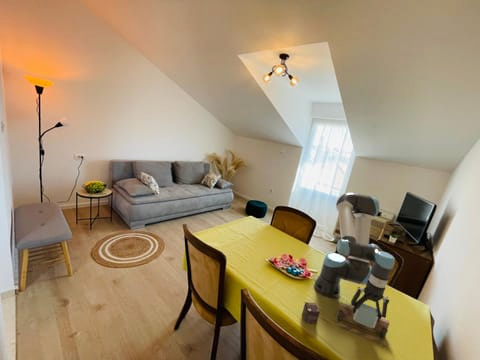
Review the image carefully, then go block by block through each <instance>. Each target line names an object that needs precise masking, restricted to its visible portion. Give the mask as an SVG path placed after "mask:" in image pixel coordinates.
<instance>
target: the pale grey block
mask: <svg viewBox="0 0 480 360" xmlns="http://www.w3.org/2000/svg"><path fill="white" fill-rule="evenodd" d="M358 309H359V310H358V313H357V316H356V319H355V322H357V323H360V324H362V325H365V326H367V327H370V328H372V329H373V326H374V323H375V320H376V318H377V315H378V312H377V308H376V307H374V306H371V305H368V304H366V303H363V304H362V305H360V306H359V307H358Z"/></svg>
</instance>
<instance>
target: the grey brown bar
mask: <svg viewBox="0 0 480 360" xmlns="http://www.w3.org/2000/svg"><path fill="white" fill-rule="evenodd" d="M353 307H354V306H352V305H348V304H346V303H343V302H341V301H340V302H339V305H338V308H337V311H336V315H335V317H336V321H337V322H336V327H340V328H342V329H344V330H347V331H349V332H351V333H354V334H357V335H359V336H361V337H363V338H366V339H369V340H371V341H373V342H376V343H378V344H380V345H382V346H385V347H388V346H389V342H388V341H385V340H384V339H386V336H387V333H388V331H389V330H388V329H389V326H390V324H391V323H390V320H388V319H386V318H384V317H382V318H381V319H380V320H379V322H376V325H375V327H374V328H373V329H372V328H370V327H367V326H365V325H362V324H360V323H357V322H355V320H353V315H354V313H353ZM342 320H343V321H345V322H348V323H350V324H353V325H355V326H358V327H360V328H363V329H365V330H368V331H369V332H370V331H371V332H373V333H376V334H378V335H380V336H379V337H380V338H381V339H380V338H379V337H375V336H374V335H371V334H369V333H367V332H364V331H361V330H359V329H357V328H353V327H352V326H349V325H347V324H345V323H341V321H342Z"/></svg>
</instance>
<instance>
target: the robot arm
mask: <svg viewBox="0 0 480 360" xmlns="http://www.w3.org/2000/svg"><path fill="white" fill-rule="evenodd" d="M335 207H336V211H337V212H338V220H339V221H338V222H339V231H340V232H339V233H340V239H338V241H337V242H336V243H337V244H336V251H337V253H333V252H331V253H330V252H329V253H328V254H326V255H325V256H324V259H323V262H322V267H321V271H320V274H319V275H318V276H317V278H316V279H315V281H314V285H313V286H314V288H315V290H316V292H318V293H319V294H321V295H322V296H324V297H326V298H328V299H329V298H330V299H336V298H339V296H340V294H341V285H340V284H341V283H340V282H341V280H344V281H347V282H350V283H355V284H358V285H361V286H365V287H364V288H361V287H359V286H358V287H357V290H356V291H355V294H354V295H353V296H352V299H351V300H350V306H351V307H353V313H354V315H353V320H355V319H356V316H357V313H358V310H359V309H358V307H359V306H360V305H362V304H365V302H367V301H372V302H374V303H375V308H377V312H378V315H377V318H376V320H375V323H374V326H373V328H374V327H375V325H376V322H379V320H380V319H381V318H383V319H386V318H387V311H388V310H387V309H388V304H389V303H390V299H389V297H388V296H384V293H385V290H386V287H387V285H388V281H389V279H390V277H391V273H392V271H393V268H394V267H395V262H396V258H395V257H394V255H392V254H390V253H389V252H386V251H383V249H382V248H381V247H380V246H379V245H377V244H374V243H370V234H371V224H372V220H374V219H375V216H378V213H379V211H380V203H379V200H378V199H377V198H376V197H375V196H370V195H368V194H367V195H366V194H360V193H356V192H346V193H343V194H342V195H340V196H339V198H338V199H337V201H336V204H335ZM354 217H355V221H354ZM354 222H355V223H354ZM345 256H348V257H347V258H346V257H345ZM370 263H371V265H372V266H371V265H370ZM363 293H364V294H363ZM362 294H363V295H362ZM361 295H362V296H361ZM360 296H361V297H360ZM381 300H382V301H383V302H382V307H381V308H380V303H379V302H380V301H381ZM381 309H382V311H381Z"/></svg>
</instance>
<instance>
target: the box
mask: <svg viewBox="0 0 480 360" xmlns="http://www.w3.org/2000/svg"><path fill="white" fill-rule="evenodd" d="M320 313H321V311H320V309H319V307H318V304H317V302H307V301H304V305H303V310H302V316H303V319H304V321H305V323H306V324H315V325H316V324H317V323H318V320H319V316H320Z"/></svg>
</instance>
